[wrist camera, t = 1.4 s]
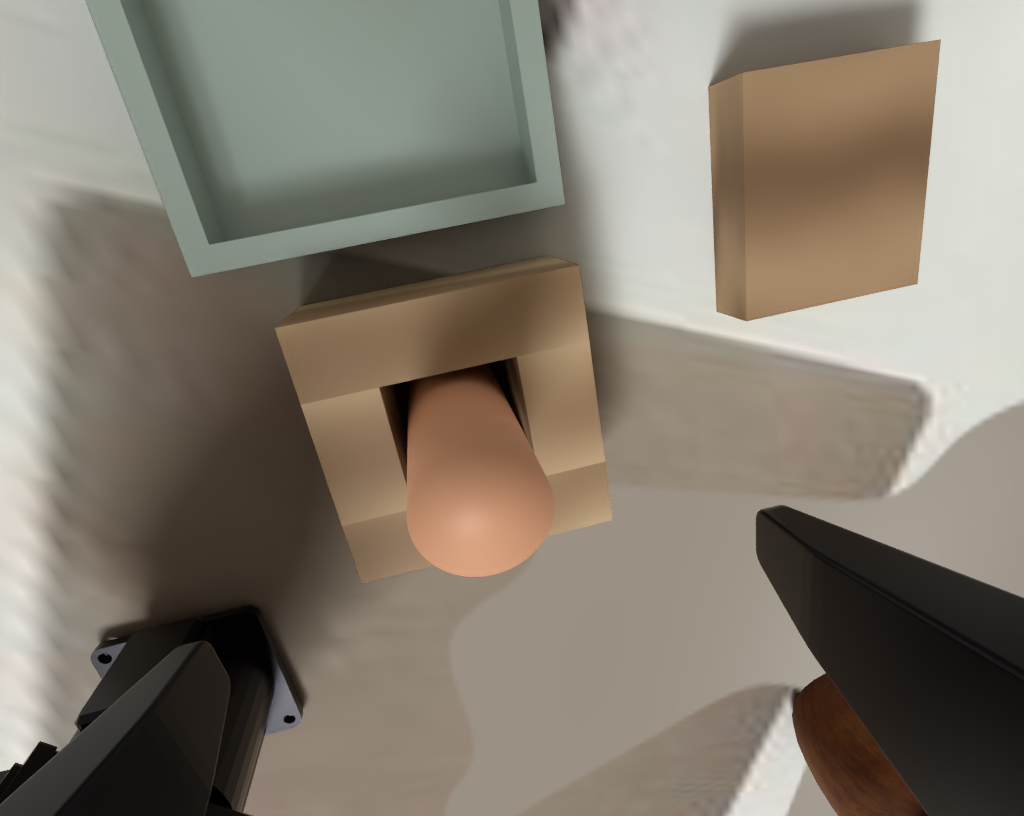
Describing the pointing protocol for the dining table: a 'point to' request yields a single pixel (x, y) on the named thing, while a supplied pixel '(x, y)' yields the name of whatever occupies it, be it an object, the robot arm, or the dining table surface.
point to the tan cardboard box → (820, 178)
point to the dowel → (472, 476)
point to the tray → (332, 118)
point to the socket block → (435, 350)
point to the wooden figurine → (847, 756)
